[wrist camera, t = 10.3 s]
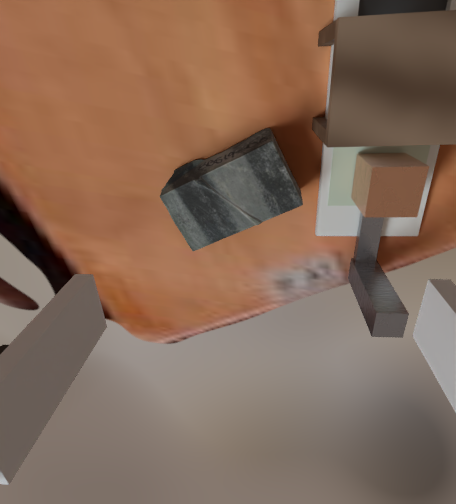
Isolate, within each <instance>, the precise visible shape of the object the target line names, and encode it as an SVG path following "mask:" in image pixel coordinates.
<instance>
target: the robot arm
mask: <svg viewBox="0 0 456 504" xmlns="http://www.w3.org/2000/svg"><path fill="white" fill-rule="evenodd" d="M106 327H107V325H106V321H105V318H104V314H103V310H102V306H101V303H100V299H99V295H98V292H97V288H96V284H95V280H94V277H93V274H75V275H74V276H73V277H72V278H71V279H70V280H69V282H68V283H67V284H66V285H65V286H64V287H63V288H62V289H61V290H60V291H59V292H58V293H57V294H56V295H55V297H54V298H53V299H52V300H51V301H50V302H49V303H48V304H47V305H46V306H45V307H44V308H43V309H42V311H41V312H40V313H39V314H38V315H37V316H36V317H35V318H34V319H33V320H32V321H31V322H30V323H29V324H28V325H27V327H26V328H25V329H24V330H23V331H22V332H21V333H20V334H19V335H18V336H17V337H16V339H14V340H13V342H12V343H11V344H10V345H2V346H0V484H7V485H9V484H10V483H11V481H12V479H13V478H14V476H15V474H16V473H17V471H18V470H19V468H20V466H21V465H22V463H23V462H24V460H25V458H26V457H27V455H28V453H29V452H30V450H31V449H32V447H33V445H34V444H35V442H36V440H37V439H38V437H39V436H40V434H41V432H42V431H43V429H44V427H45V426H46V424H47V423H48V421H49V419H50V418H51V416H52V415H53V413H54V411H55V410H56V408H57V406H58V405H59V403H60V402H61V400H62V398H63V397H64V395H65V394H66V392H67V390H68V389H69V387H70V385H71V384H72V382H73V381H74V379H75V377H76V376H77V374H78V373H79V371H80V369H81V368H82V366H83V364H84V363H85V361H86V360H87V358H88V356H89V355H90V353H91V351H92V350H93V348H94V347H95V345H96V343H97V342H98V340H99V338H100V336H101V335H102V334H103V332H104V330H105V329H106ZM413 337H414V339H415V341H416V343H417V345H418V346H419V348H420V350H421V352H422V354H423V355H424V357H425V359H426V360H427V363H428V364H429V366H430V368H431V369H432V371H433V373H434V375H435V377H436V379H437V380H438V382H439V384H440V386H441V387H442V389H443V391H444V393H445V395H446V396H447V398H448V400H449V401H450V403H451V405H452V407H453V409H454V410H455V412H456V286H455V284H454V283H453V282H452V281H451V280H441V279H439V280H438V279H429V280H428V282H427V286H426V290H425V293H424V297H423V301H422V304H421V308H420V311H419V315H418V319H417V322H416V325H415V329H414V333H413Z"/></svg>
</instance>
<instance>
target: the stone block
mask: <svg viewBox="0 0 456 504" xmlns="http://www.w3.org/2000/svg"><path fill="white" fill-rule="evenodd" d="M160 198H161V200H162V201H163V203H164V204H165V206H166V208H167V209H168V211H169V213H170V215H171V217H172V219H173V221H174V222H175V224H176V226H177V227H178V229H179V230H180V232H181V233H182V235H183V237H184V238H185V240H186V241H187V243H188V245H189V246H190V248H191V249H192V251H195V250H198V249H200V248H203V247H205V246H207V245H210V244H212V243H214V242H217V241H219V240H221V239H223V238H226V237H228V236H231V235H233V234H236V233H238V232H240V231H243V230H245V229H248V228H250V227H252V226H255V225H259V224H261V223H262V222H263V221H266V220H268V219H270V218H273V217H275V216H278V215H280V214H282V213H285V212H287V211H290V210H292V209H294V208H297V207H299V206H301V205H303V202H302V196H301V191H300V188H299V187H298V185H297V182H296V181H295V179H294V177H293V175H292V173H291V171H290V168H289V166H288V164H287V162H286V160H285V158H284V156H283V154H282V152H281V150H280V148H279V146H278V144H277V141H276V140H275V137H274V135H273V132H272V130H271V129H270V128H266V129H264V130H261V131H259V132H257V133H255V134H254V135H252V136H250V137H249V138H247V139H246V140H244V141H242V142H240V143H238V144H236V145H234V146H232V147H231V148H229V149H227V150H225V151H224V152H222V153H219V154H216V155H214V156H212V157H210V158H208V159H206V160H202V159H200V160H194V161H192V162H190V163H187V164H185V165H184V166H182V167H180V168H178V169H176V170H174V174H173V175H172V177H171V178H170V179H169V181H168V182H167V184H166V185H165V187H164V188H163V189H162V192H161V195H160Z"/></svg>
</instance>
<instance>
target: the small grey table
mask: <svg viewBox="0 0 456 504" xmlns="http://www.w3.org/2000/svg"><path fill="white" fill-rule="evenodd" d="M331 45H334V50H333V61H332V72H331V84H330V95H329V106H328V117H327V119H326V118H325V117H316V118H313V123H312V130H313V131H314V132H315V133H316V135H317V136H318V137H319V138H320V139H321V141H322V142H323V143H324V144H325V145H326V147H368V146H409V145H449V144H456V10H446V11H430V12H414V13H398V14H383V15H367V16H351V17H339V18H338V19H336V20H335V21H334V22H332V23H331V24H329V25H328V26H327V27H325V28H324V29H323V30H321V31H320V32H319V38H318V46H331Z"/></svg>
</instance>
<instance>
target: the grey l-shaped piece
mask: <svg viewBox="0 0 456 504" xmlns="http://www.w3.org/2000/svg"><path fill="white" fill-rule="evenodd" d="M428 170H429V166H428V165H426V164H424V163H423V162H421V161H419V160H417V159H416V158H414V157H412V156H410V155H409V154H407V153H365V154H357V157H356V164H355V172H354V179H353V187H352V194H351V198H352V200H353V201H354V203H355V204H356V206H357V207H358V209H359V210H360V211H361V212H360V219H359V225H358V232H357V239H356V245H355V252H354V258H351V262H350V269H349V276H348V279H349V282H350V284H351V287H352V289H353V292H354V294H355V296H356V299H357V301H358V304H359V306H360V309H361V311H362V313H363V316H364V318H365V321H366V323H367V326H368V328H369V331H370V333H371V336H372V337H374V336H375V337H403V334H404V330H405V326H406V323H407V319H408V315H409V313H408V312H407V310H406V308H405V307H404V305H403V303H402V302H401V300H400V298H399V297H398V295H397V293H396V292H395V290H394V288H393V287H392V285H391V283H390V282H389V280H388V279H387V276H386V275H385V273H384V271H383V270H382V268H381V266H380V265H379V263H378V261H377V260H376V258H377V252H378V247H379V242H380V236H381V231H382V226H383V220H384V217H417V216H418V212H419V208H420V204H421V199H422V195H423V191H424V187H425V182H426V178H427V174H428Z"/></svg>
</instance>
